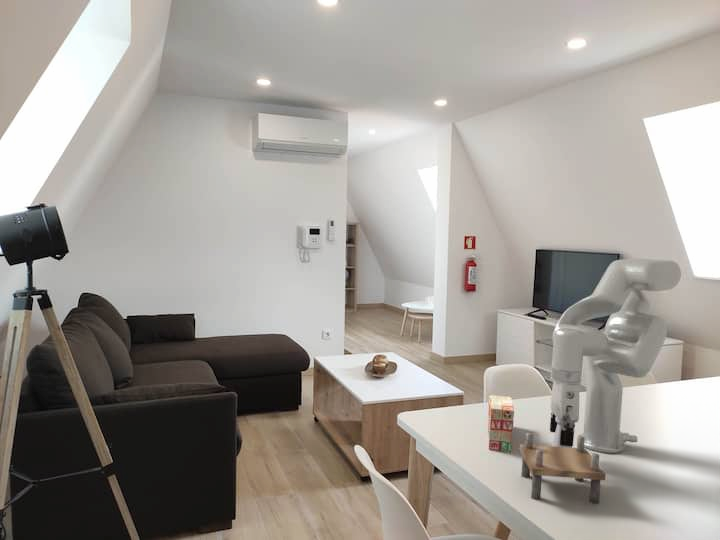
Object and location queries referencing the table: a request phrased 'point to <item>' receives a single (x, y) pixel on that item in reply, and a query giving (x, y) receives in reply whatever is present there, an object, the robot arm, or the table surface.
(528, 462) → the shelf
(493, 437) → the stack of blocks
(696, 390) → the table surface
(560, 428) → the salt shaker
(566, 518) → the table surface
